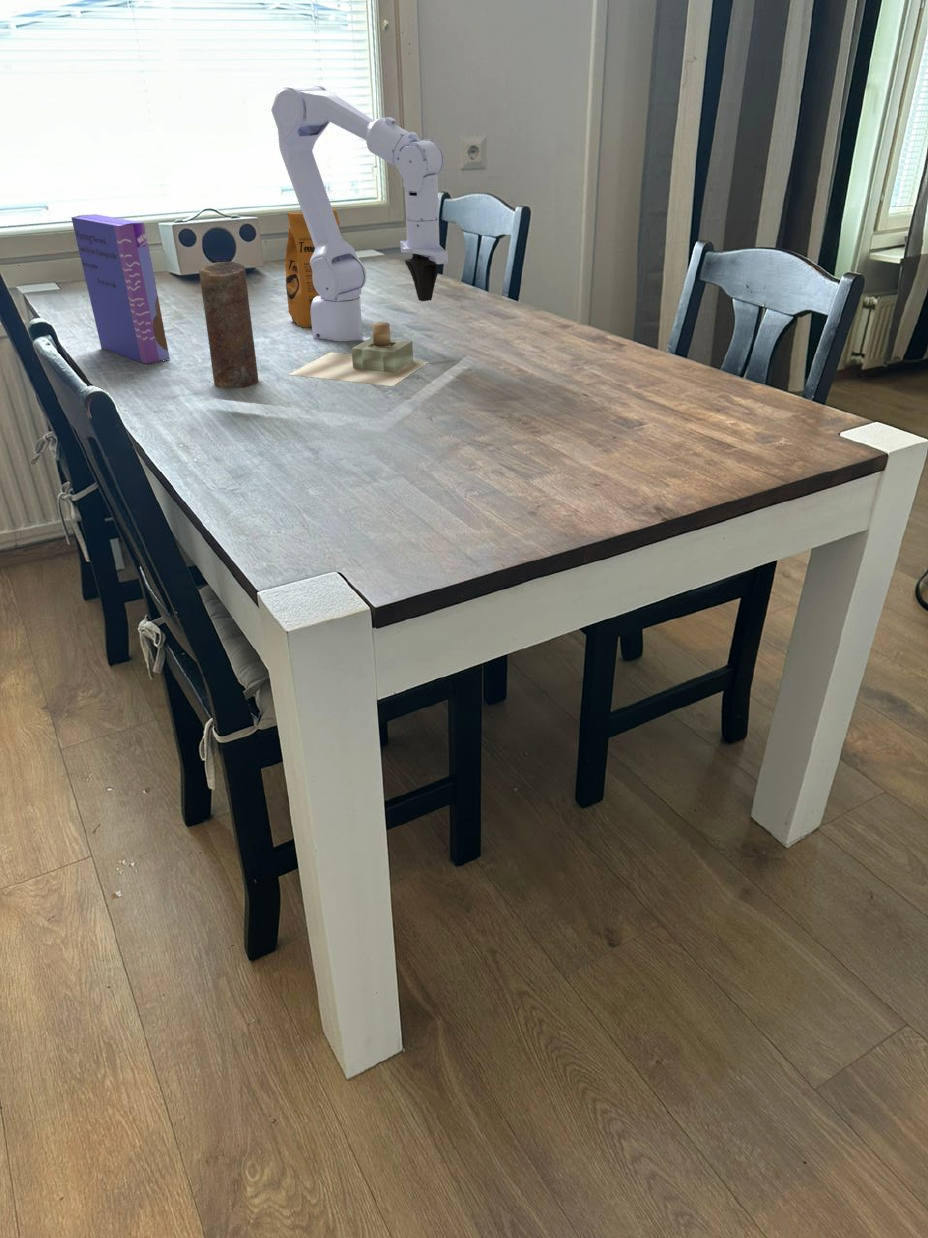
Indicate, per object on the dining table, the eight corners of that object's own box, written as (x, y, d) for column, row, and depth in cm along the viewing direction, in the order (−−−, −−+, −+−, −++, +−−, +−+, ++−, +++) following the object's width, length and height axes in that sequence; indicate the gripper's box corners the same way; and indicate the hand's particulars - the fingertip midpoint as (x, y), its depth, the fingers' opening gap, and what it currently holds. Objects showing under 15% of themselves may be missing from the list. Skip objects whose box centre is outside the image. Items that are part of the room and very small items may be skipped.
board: (288, 382, 151) (285, 353, 148) (330, 360, 163) (328, 333, 160) (393, 394, 145) (391, 364, 142) (428, 370, 156) (427, 342, 154)
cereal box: (169, 359, 164) (143, 221, 152) (147, 364, 162) (118, 224, 149) (123, 343, 175) (95, 212, 162) (101, 348, 172) (70, 215, 159)
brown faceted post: (269, 386, 150) (252, 262, 139) (246, 399, 144) (227, 270, 133) (230, 382, 152) (211, 260, 141) (206, 394, 146) (185, 268, 135)
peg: (373, 366, 154) (370, 326, 150) (376, 361, 156) (373, 321, 152) (390, 366, 153) (388, 326, 150) (392, 362, 156) (390, 322, 152)
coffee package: (285, 320, 190) (273, 209, 179) (339, 313, 195) (330, 205, 183) (299, 329, 183) (287, 215, 171) (355, 322, 188) (347, 211, 176)
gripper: (383, 216, 155) (388, 295, 163) (421, 225, 145) (424, 310, 152) (418, 213, 158) (421, 291, 166) (458, 222, 148) (459, 305, 155)
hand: (425, 300), depth 159 cm, fingers closed
